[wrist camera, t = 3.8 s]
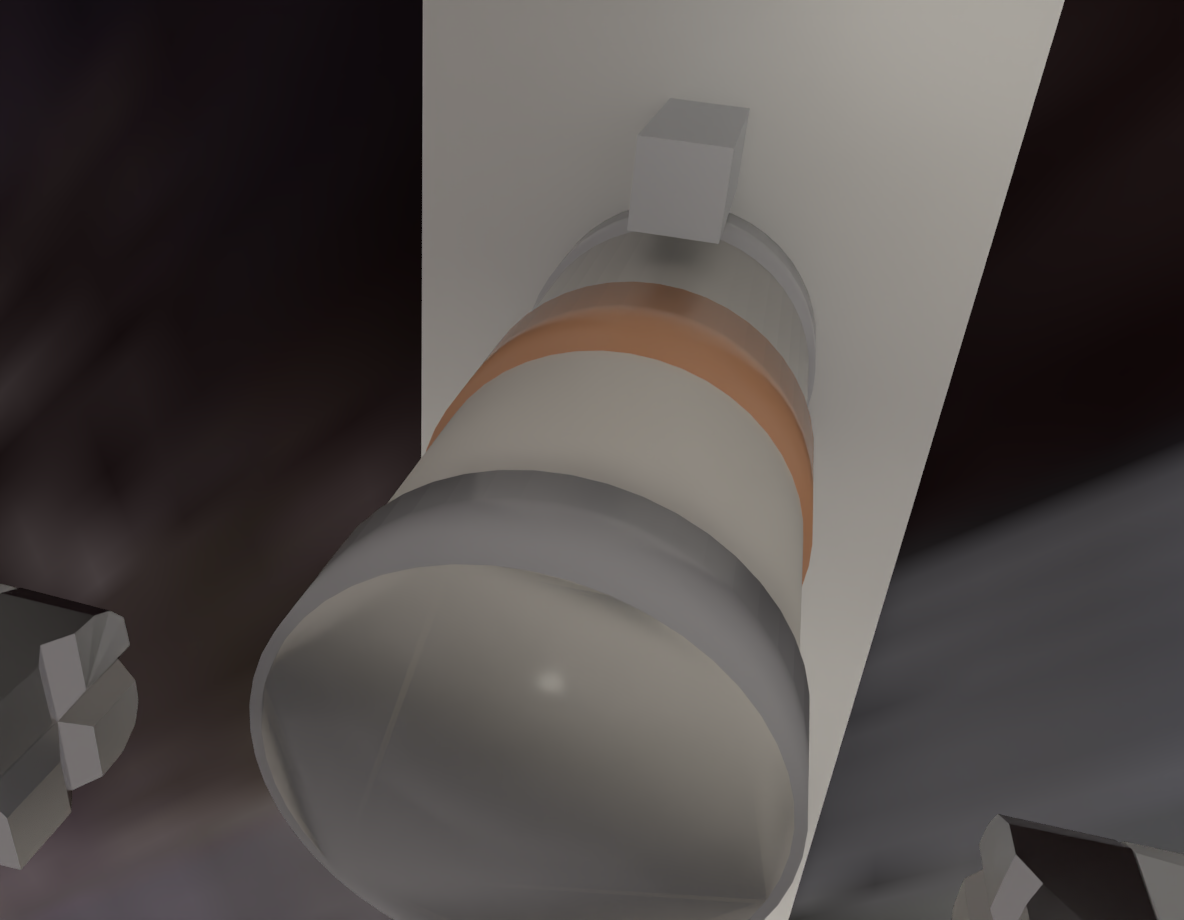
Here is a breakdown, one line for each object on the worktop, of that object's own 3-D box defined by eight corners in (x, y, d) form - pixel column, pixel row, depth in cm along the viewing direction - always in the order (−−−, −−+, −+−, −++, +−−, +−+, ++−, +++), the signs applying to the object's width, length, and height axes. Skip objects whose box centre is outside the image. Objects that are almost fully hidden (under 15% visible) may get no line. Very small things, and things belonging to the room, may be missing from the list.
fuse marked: (553, 182, 16) (224, 498, 7) (843, 223, 15) (870, 626, 6) (535, 434, 18) (269, 905, 9) (786, 480, 17) (752, 1029, 9)
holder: (489, -1127, 11) (272, -1821, 7) (1366, -1163, 10) (1806, -2042, 5) (445, 826, 27) (373, 1000, 22) (774, 905, 25) (765, 1103, 21)
